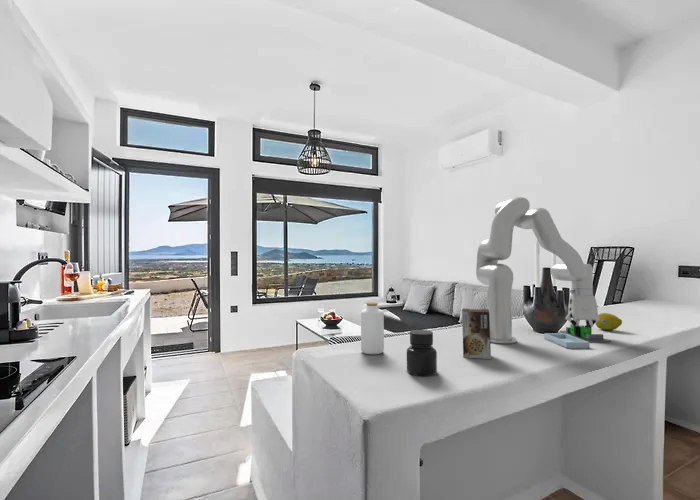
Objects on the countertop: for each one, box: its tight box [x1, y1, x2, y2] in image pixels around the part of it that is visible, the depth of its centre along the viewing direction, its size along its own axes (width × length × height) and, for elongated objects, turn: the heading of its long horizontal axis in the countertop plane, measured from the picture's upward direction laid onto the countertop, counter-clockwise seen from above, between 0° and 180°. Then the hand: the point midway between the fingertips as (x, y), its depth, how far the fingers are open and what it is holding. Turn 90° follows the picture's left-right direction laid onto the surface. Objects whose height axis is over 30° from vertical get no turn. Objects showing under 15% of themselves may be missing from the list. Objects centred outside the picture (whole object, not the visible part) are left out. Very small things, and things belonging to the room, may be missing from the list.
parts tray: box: [543, 332, 591, 349], centre depth 139 cm, size 9×16×2 cm, turn 179°
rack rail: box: [559, 326, 612, 344], centre depth 150 cm, size 9×20×3 cm, turn 178°
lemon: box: [595, 312, 623, 332], centre depth 163 cm, size 11×8×8 cm
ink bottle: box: [406, 329, 438, 377], centre depth 106 cm, size 10×9×12 cm
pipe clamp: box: [569, 323, 592, 339], centre depth 150 cm, size 11×4×5 cm, turn 179°
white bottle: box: [360, 301, 385, 356], centre depth 129 cm, size 8×8×18 cm
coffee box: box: [461, 308, 492, 360], centre depth 123 cm, size 9×6×16 cm
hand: (582, 335), depth 150 cm, fingers closed on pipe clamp, 3 cm apart
